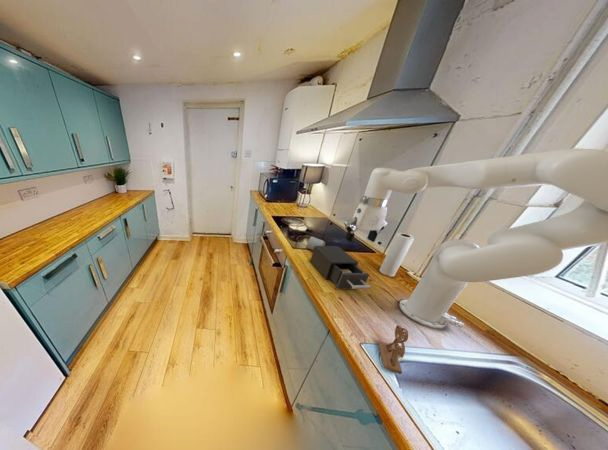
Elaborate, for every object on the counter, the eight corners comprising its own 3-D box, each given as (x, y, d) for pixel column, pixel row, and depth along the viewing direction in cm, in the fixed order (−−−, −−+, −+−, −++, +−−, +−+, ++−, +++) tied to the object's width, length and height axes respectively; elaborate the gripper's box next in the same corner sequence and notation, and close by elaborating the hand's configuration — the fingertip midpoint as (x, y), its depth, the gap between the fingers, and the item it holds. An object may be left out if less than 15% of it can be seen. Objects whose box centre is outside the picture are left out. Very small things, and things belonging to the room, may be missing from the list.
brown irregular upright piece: (401, 374, 56) (421, 347, 51) (384, 367, 57) (402, 340, 52) (392, 347, 63) (409, 321, 58) (377, 342, 65) (392, 316, 60)
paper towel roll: (386, 277, 95) (406, 238, 86) (375, 269, 101) (393, 232, 92) (400, 276, 96) (421, 238, 87) (388, 269, 101) (407, 232, 92)
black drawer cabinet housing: (351, 279, 93) (358, 262, 89) (325, 279, 93) (331, 262, 89) (332, 261, 107) (338, 245, 103) (310, 261, 106) (314, 245, 102)
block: (352, 283, 88) (345, 276, 92) (355, 275, 86) (348, 269, 90) (342, 283, 87) (336, 276, 91) (345, 275, 86) (339, 269, 90)
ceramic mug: (320, 255, 112) (324, 243, 108) (305, 250, 116) (308, 238, 113) (324, 248, 119) (327, 236, 116) (309, 243, 124) (312, 232, 121)
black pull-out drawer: (371, 297, 82) (378, 282, 78) (345, 297, 81) (351, 282, 78) (342, 269, 98) (347, 256, 95) (320, 269, 98) (324, 256, 95)
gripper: (360, 204, 72) (345, 245, 79) (404, 204, 73) (386, 244, 80) (345, 198, 79) (334, 236, 86) (387, 198, 79) (371, 236, 86)
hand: (359, 240), depth 83 cm, fingers open, 9 cm apart
